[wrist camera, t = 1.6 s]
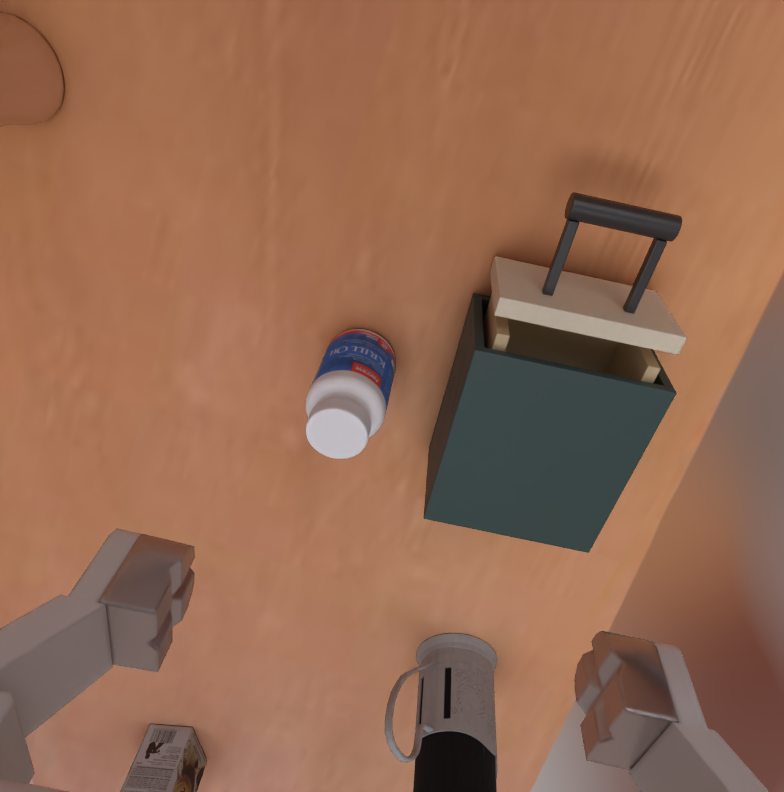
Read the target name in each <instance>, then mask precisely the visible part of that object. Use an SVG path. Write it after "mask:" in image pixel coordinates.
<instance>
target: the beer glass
mask: <svg viewBox="0 0 784 792" xmlns="http://www.w3.org/2000/svg"><path fill="white" fill-rule="evenodd" d="M63 94H64V82H63V75H62V71H61V68H60V65H59V62H58V60H57V58H56V56H55V54H54V52H53V50H52V49H51V47H50V46H49V44H48V43H47V41H46V40H45V39H44V38H43V37H42V35H41V34H40V33H39V32H38V31H37V30H35V29H34V28H33V27H32V26H31V25H29V24H28V23H26V22H25V21H23V20H22V19H20V18H18V17H15V16H13V15H10V14H7V13H2V12H0V127H2V126H6V125H36V124H41V123H44V122H46V121H47V120H49V119H50V118H52V117H53V116H54V115H55V114H56V112H57V111H58V109H59V108H60V105H61V103H62V99H63Z"/></svg>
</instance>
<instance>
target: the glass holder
mask: <svg viewBox="0 0 784 792" xmlns="http://www.w3.org/2000/svg"><path fill="white" fill-rule="evenodd" d="M416 657H417V662H418V664H419V667H416V668H414V669H412V670H410V671H408V672H406V673H404V674H402V675H401V676H400V678H399V679H398V680H397V682H396V683H395V685H394V687H393V689H392V691H391V694H390V697H389V700H388V703H387V710H386V716H385V735H386V740H387V743H388V746H389V748H390V750H391V752H392V753H393V755H394V756H395V757H396V758H397V759H398V760H399V761H401V762H406V763H407V762H410V761H412V760H414V759H415V774H414V789H413V792H496V778H497V746H496V722H495V699H494V676H493V673H494V670H495V667H496V664H497V656H496V653H495V651H494V650H493V648H492V647H491V646H490V645H489V644H487V643H486V642H484V641H483V640H481V639H479V638H476V637H473V636H470V635H466V634H458V633H449V634H441V635H437V636H434V637H431V638H429V639H427V640H426V641H424V642H423V643H422V644H421V645H420V646H419V648H418V650H417V654H416ZM417 671H419V685H418V700H417V715H416V730H415V739H414V746H413V750H412V752H411V754H410V755H409V757H407V756H405V755H404V754H403V753H402V752H401V751H400V750H399V748H398V747H397V745H396V743H395V740H394V736H393V731H392V718H393V711H394V705H395V701H396V698H397V694H398V692H399V690H400V688H401V686H402V684H403V683H404V681H405V680H406V678H407V677H409V676H410V675H412V674H413V673H415V672H417Z"/></svg>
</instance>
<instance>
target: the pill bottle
mask: <svg viewBox="0 0 784 792" xmlns="http://www.w3.org/2000/svg"><path fill="white" fill-rule="evenodd" d="M395 367H396V360H395V355H394V352H393V350H392V348H391V346H390V345H389V343H388V342H387V341H386V340H385V339H384V338H382V337H381V336H379V335H378V334H376V333H374V332H371V331H368V330H364V329H352V330H348V331H345V332H343V333H341V334H339V335H338V336H336V337H335V338H334V339H333V340H332V341H331V343H330V344H329V346H328V348H327V350H326V353H325V355H324V357H323V360H322V362H321V364H320V366H319V369H318V371H317V373H316V376H315V378H314V380H313V382H312V385H311V387H310V389H309V392H308V395H307V398H306V412H307V415H308V418H309V419H308V421H307V424H306V436H307V439H308V441H309V443H310V444H311V445H312V447H313V448H314V449H315V450H317V451H318V452H319V453H321V454H323V455H325V456H327V457H331V458H335V459H346V458H350V457H353V456H356V455H357V454H359V453H360V452H361V451H362V450H363V449H364V447H365V446H366V444H367V441H368V438H369V437H371V436H372V435H374V434H375V433H376V432H377V431H378V429H379V428H380V427H381V425H382V423H383V420H384V417H385V414H386V409H387V405H388V400H389V396H390V391H391V386H392V382H393V378H394V373H395Z"/></svg>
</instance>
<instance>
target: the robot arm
mask: <svg viewBox="0 0 784 792" xmlns="http://www.w3.org/2000/svg"><path fill="white" fill-rule="evenodd" d="M194 558H195V551H194V546H191V545H187V544H183V543H178V542H174V541H170V540H166V539H162V538H157V537H153V536H149V535H145V534H140V533H136V532H131V531H127V530H122V529H118V528H117V529H116V530H115V531H113V532H112V533H111V534H110V535H109V536H108V538H107V539H106V541H105V542H104V544H103V545H102V547H101V548H100V550H99V551H98V553H97V554H96V555H95V557H94V558H93V560H92V561H91V563H90V564H89V566H88V567H87V569H86V570H85V572H84V573H83V575H82V576H81V578H80V579H79V581H78V582H77V584H76V585H75V587H74V588H73V590H72V591H71V593H70V594H69V596H65V595H59V596H57V597H55V598H54V599H52V600H50V601H48V602H47V603H45V604H43V605H41V606H39V607H38V608H36V609H34V610H32V611H31V612H29V613H27V614H25V615H24V616H22V617H20V618H18V619H16V620H15V621H13V622H11V623H9V624H8V625H6V626H4V627H2V628H0V792H69V791H64V790H59V789H54V788H49V787H44V786H39V785H34V784H29V782H30V780H31V779H32V777H33V775H34V769H33V765H32V761H31V758H30V754H29V751H28V747H27V744H26V740H25V737H27V736H28V735H29V734H30V733H32V732H33V731H34V730H35V729H36V728H38V727H39V726H40V725H41V724H43V723H44V722H45V721H46V720H48V719H49V718H50V717H51V716H53V715H54V714H55V713H56V712H58V711H59V710H60V709H61V708H63V707H64V706H65V705H66V704H68V703H69V702H70V701H71V700H73V699H74V698H75V697H76V696H77V695H79V694H80V693H81V692H82V691H84V690H85V689H86V688H87V687H89V686H90V685H91V684H92V683H94V682H95V681H96V680H97V679H99V678H100V677H101V676H102V675H104V674H105V673H106V672H107V671H109V670H110V669H111V668H112V667H113V666H112V664H114V665H119V666H125V667H131V668H136V669H142V670H148V671H153V672H158V671H159V669H160V667H161V664H162V662H163V660H164V658H165V656H166V654H167V652H168V649H169V647H170V645H171V643H172V627H173V626H174V625H176V624H177V623H179V622H180V621H182V619H183V617H184V614H185V612H186V610H187V608H188V605H189V601H190V598H191V595H192V591H193V586H194V572H193V571H192V569H191V568H190V567H191V565H192V562H193V560H194ZM592 646H593V650H592V651H590V652H587V653H585V654H583V655H582V657H581V659H580V661H579V663H578V664H577V669H576V674H575V694H576V701H577V703H578V705H579V706H580V707H581V709H582V710H583V711H584V713H585V714H586V717H585V718H584V720H583V722H582V724H581V731H582V737H583V743H584V749H585V755H586V760H587V761H592V762H596V763H600V764H604V765H609V766H613V767H617V768H622V769H626V770H630V772H629V774H630V775H631V777H632V779H633V780H634V782H635V783H636V785H637V787H638V788H639V790H640V792H769V791H768V790H767V789H766V788H765V786H764V785H763V784H762V783H761V782H760V781H759V780H758V778H757V777H756V776H755V775H754V774H753V773H752V772H751V771H750V769H749V768H748V767H747V766H746V765H745V764H744V763H743V761H741V759H740V758H739V757H738V756H737V755H736V753H735V752H734V751H733V750H732V749H731V748H730V747H729V746H728V744H727V743H726V742H725V741H724V740H723V739H722V738H721V736H720V735H718V733H717V732H716V731H714V730H710V729H708V728H707V725H706V722H705V719H704V716H703V713H702V710H701V708H700V705H699V702H698V699H697V696H696V693H695V690H694V687H693V685H692V682H691V679H690V676H689V673H688V670H687V667H686V665H685V662H684V659H683V656H682V653H681V651H680V650H679V649H678V648H677V647H676V646H672V645H667V644H662V643H657V642H653V641H649V640H645V639H641V638H635V637H630V636H625V635H620V634H615V633H610V632H605V631H601V632H599V633H597V634H596V635H595V637H594V638H593V640H592Z"/></svg>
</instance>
